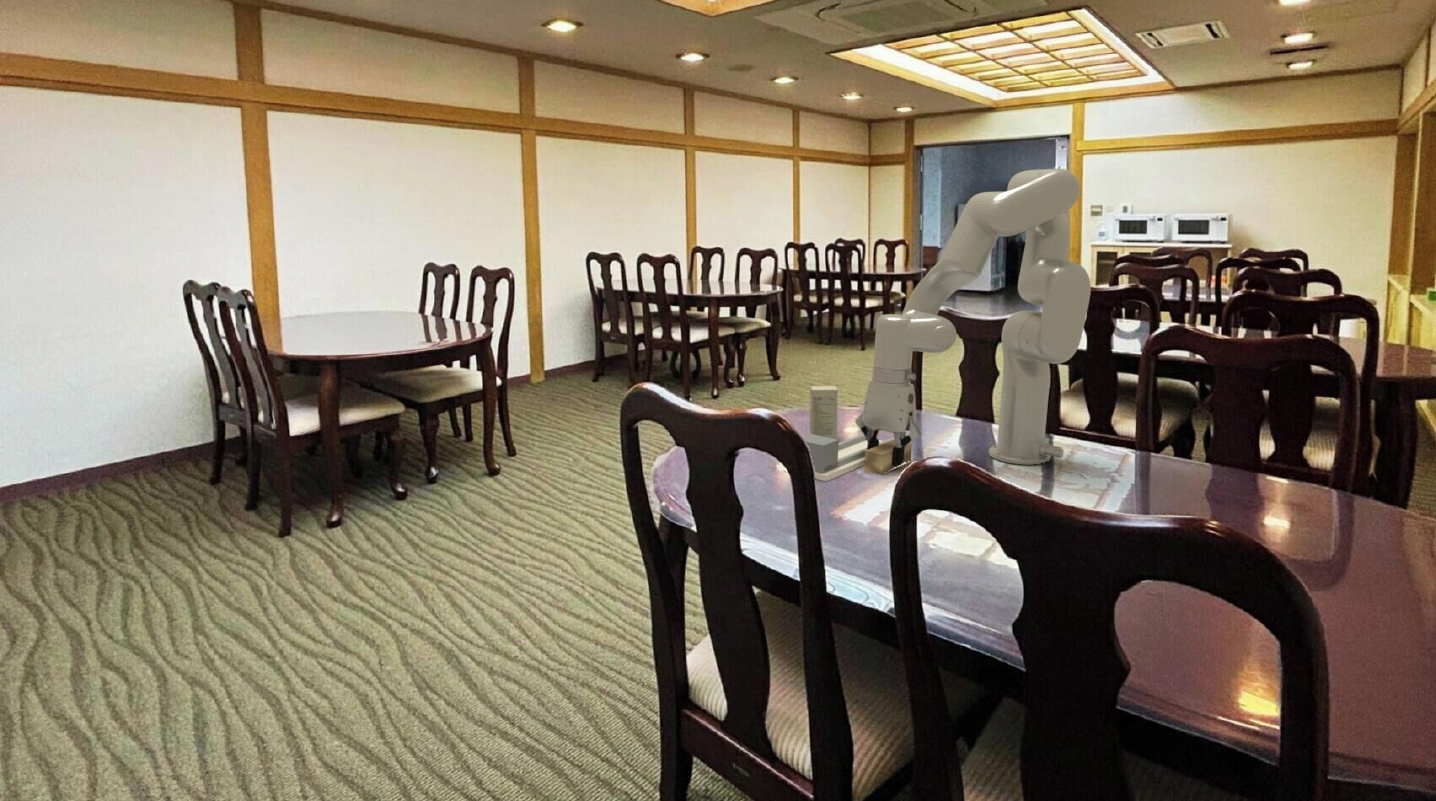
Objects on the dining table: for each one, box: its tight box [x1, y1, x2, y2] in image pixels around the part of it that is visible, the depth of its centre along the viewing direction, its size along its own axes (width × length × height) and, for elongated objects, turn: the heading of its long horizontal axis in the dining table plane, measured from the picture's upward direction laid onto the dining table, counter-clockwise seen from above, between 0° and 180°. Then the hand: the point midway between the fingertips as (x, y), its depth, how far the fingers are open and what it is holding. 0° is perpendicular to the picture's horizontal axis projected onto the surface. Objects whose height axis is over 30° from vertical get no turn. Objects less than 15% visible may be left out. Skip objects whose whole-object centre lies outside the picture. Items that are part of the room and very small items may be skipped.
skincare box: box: [809, 385, 839, 440], centre depth 197 cm, size 6×4×12 cm
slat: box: [863, 439, 913, 476], centre depth 177 cm, size 4×12×4 cm, turn 139°
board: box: [802, 432, 895, 482], centre depth 181 cm, size 10×30×7 cm, turn 140°
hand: (884, 461), depth 178 cm, fingers open, 5 cm apart
